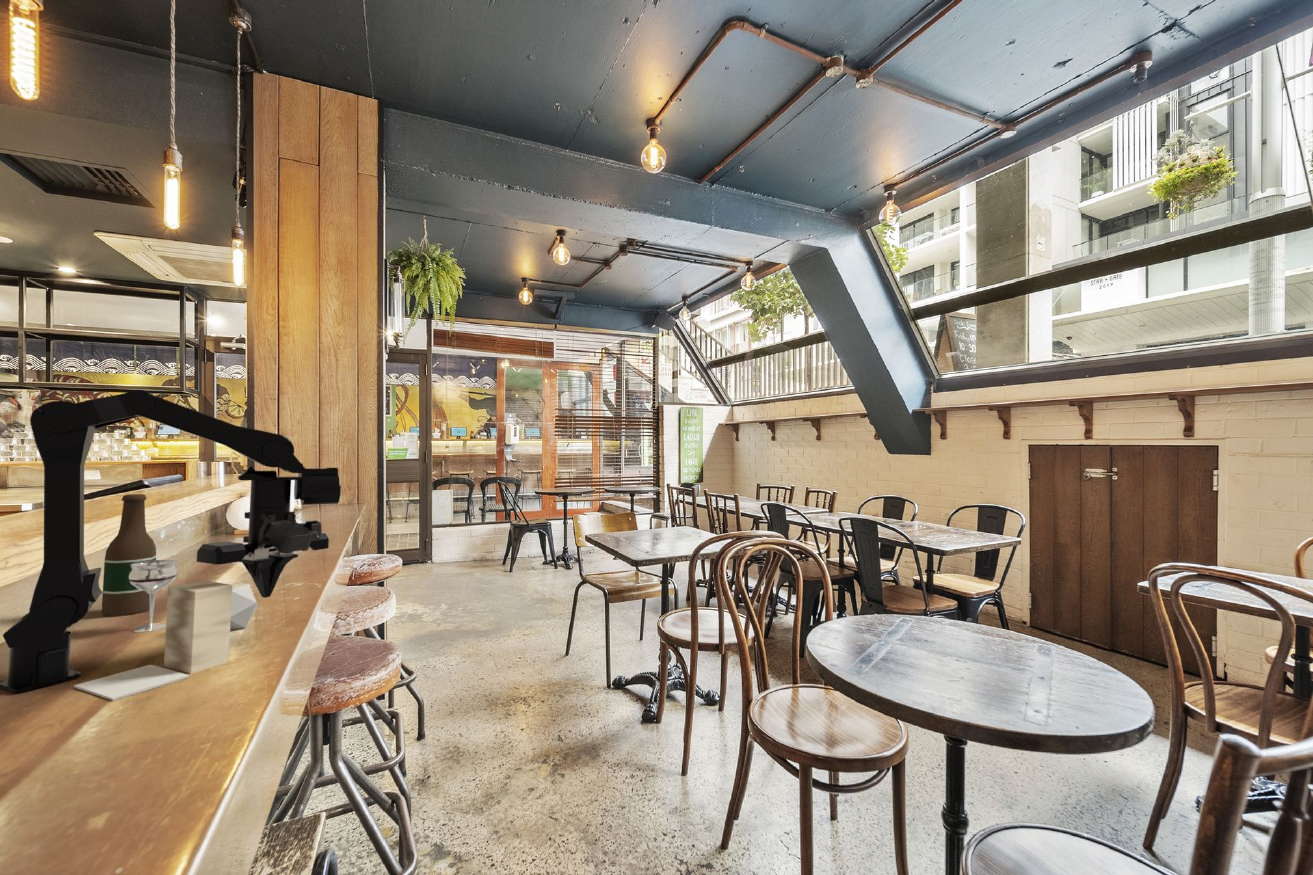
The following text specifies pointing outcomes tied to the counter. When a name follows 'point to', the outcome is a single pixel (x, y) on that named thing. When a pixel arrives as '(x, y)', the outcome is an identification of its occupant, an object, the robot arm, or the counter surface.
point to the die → (242, 606)
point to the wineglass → (152, 583)
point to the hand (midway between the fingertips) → (266, 597)
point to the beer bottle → (127, 561)
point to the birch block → (198, 626)
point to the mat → (130, 682)
